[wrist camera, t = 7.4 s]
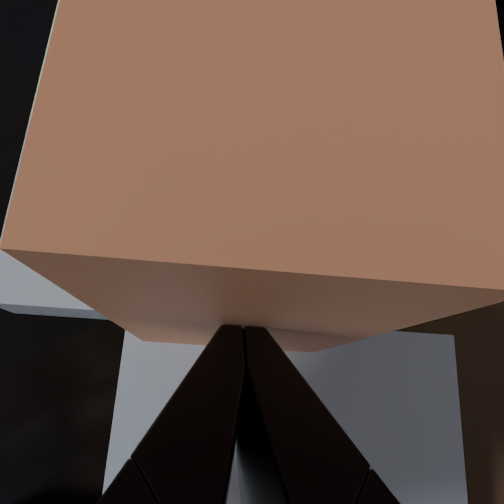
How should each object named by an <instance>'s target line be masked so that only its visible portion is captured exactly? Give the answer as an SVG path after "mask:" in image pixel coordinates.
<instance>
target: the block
mask: <svg viewBox="0 0 504 504" xmlns="http://www.w3.org/2000/svg"><path fill="white" fill-rule="evenodd" d="M0 249H1V250H3V251H4V252H6V253H7V254H9V255H10V256H12V257H13V258H15V259H17V260H18V261H20V262H21V263H23V264H24V265H26V266H27V267H29V268H30V269H32V270H34V271H35V272H37V273H38V274H40V275H41V276H43V277H44V278H46V279H47V280H49V281H51V282H52V283H54V284H55V285H57V286H58V287H60V288H61V289H63V290H65V291H66V292H68V293H69V294H71V295H72V296H74V297H75V298H77V299H78V300H80V301H82V302H83V303H85V304H86V305H88V306H89V307H91V308H92V309H94V310H95V311H97V312H99V313H100V314H102V315H103V316H105V317H106V318H108V319H109V320H111V321H113V322H114V323H116V324H117V325H119V326H120V327H122V328H123V329H125V330H126V331H128V332H130V333H131V334H133V335H134V336H136V337H137V338H139V339H140V340H142V341H148V342H163V343H178V344H193V345H207V344H208V342H209V341H210V340H211V338H212V337H213V335H214V334H215V332H216V331H217V329H218V328H219V327H220V326H221V325H223V324H226V325H239V326H241V327H242V328H244V327H245V326H255V327H264V328H266V329H267V330H268V331H269V333H270V334H271V335H272V337H273V338H274V339H275V341H276V342H277V343H278V344H279V346H280V347H281V348H282V350H284V351H299V352H317V351H321V350H324V349H328V348H332V347H336V346H339V345H343V344H347V343H350V342H354V341H358V340H362V339H365V338H369V337H373V336H377V335H380V334H384V333H388V332H392V331H395V330H399V329H403V328H406V327H410V326H414V325H418V324H421V323H425V322H429V321H433V320H436V319H440V318H444V317H448V316H451V315H455V314H459V313H463V312H466V311H470V310H474V309H477V308H481V307H485V306H489V305H492V304H496V303H500V302H504V59H503V52H502V45H501V38H500V31H499V24H498V17H497V10H496V3H495V0H60V2H59V6H58V10H57V14H56V18H55V23H54V27H53V31H52V35H51V39H50V43H49V47H48V51H47V55H46V59H45V64H44V68H43V72H42V76H41V80H40V84H39V88H38V92H37V96H36V101H35V105H34V109H33V113H32V117H31V121H30V125H29V129H28V133H27V137H26V142H25V146H24V150H23V154H22V158H21V162H20V166H19V170H18V174H17V179H16V183H15V187H14V191H13V195H12V199H11V203H10V207H9V211H8V215H7V220H6V224H5V228H4V232H3V236H2V240H1V244H0Z"/></svg>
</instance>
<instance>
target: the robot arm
mask: <svg viewBox="0 0 504 504" xmlns="http://www.w3.org/2000/svg"><path fill="white" fill-rule="evenodd" d="M235 446H236V455H237V468H238V479H239V490H240V501H241V504H400V502H399V501H398V500H397V499H396V497H395V496H394V495H393V494H392V492H391V491H390V490H389V489H388V487H387V486H386V485H385V483H384V482H383V481H382V479H381V478H380V477H379V475H378V474H377V473H376V472H375V470H374V469H370V464H369V463H368V461H367V460H366V459H365V457H364V456H363V455H362V453H361V452H360V451H359V450H358V448H357V447H356V446H355V444H354V443H353V442H352V440H351V439H350V438H349V436H348V435H347V434H346V432H345V431H344V430H343V428H342V427H341V426H340V425H339V423H338V422H337V421H336V419H335V418H334V417H333V415H332V414H331V413H330V411H329V410H328V409H327V407H326V406H325V405H324V404H323V402H322V401H321V400H320V398H319V397H318V396H317V394H316V393H315V392H314V390H313V389H312V388H311V386H310V385H309V384H308V383H307V381H306V380H305V379H304V377H303V376H302V375H301V373H300V372H299V371H298V369H297V368H296V367H295V365H294V364H293V363H292V362H291V360H290V359H289V358H288V356H287V355H286V354H285V352H284V351H283V350H282V348H281V347H280V346H279V344H278V343H277V342H276V341H275V339H274V338H273V337H272V335H271V334H270V333H269V331H268V330H267V329H266V328H264V327H255V326H245V327H244V328H242V327H241V326H239V325H226V324H223V325H221V326H220V327H219V328H218V329H217V331H216V332H215V334H214V335H213V337H212V338H211V340H210V341H209V342H208V344H207V345H206V347H205V348H204V350H203V351H202V353H201V354H200V356H199V357H198V358H197V360H196V361H195V363H194V364H193V366H192V367H191V369H190V370H189V371H188V373H187V374H186V376H185V377H184V379H183V380H182V382H181V383H180V384H179V386H178V387H177V389H176V390H175V392H174V393H173V395H172V396H171V398H170V399H169V400H168V402H167V403H166V405H165V406H164V408H163V409H162V411H161V412H160V413H159V415H158V416H157V418H156V419H155V421H154V422H153V424H152V425H151V427H150V428H149V429H148V431H147V432H146V434H145V435H144V437H143V438H142V440H141V441H140V442H139V444H138V445H137V447H136V448H135V450H134V451H133V453H132V454H131V459H128V460H127V461H126V462H125V464H124V465H123V467H122V468H121V470H120V471H119V472H118V474H117V475H116V477H115V478H114V480H113V481H112V483H111V484H110V485H109V487H108V488H107V489H106V491H105V492H104V493H103V495H102V496H101V497H100V499H99V500H98V501H97V503H96V504H227V499H228V493H229V486H230V480H231V473H232V467H233V460H234V453H235Z"/></svg>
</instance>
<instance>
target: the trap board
mask: <svg viewBox="0 0 504 504" xmlns="http://www.w3.org/2000/svg"><path fill="white" fill-rule="evenodd" d="M59 2H60V0H58V3H57V7H56V12H55V16H54V20H53V24H52V28H51V32H50V36H49V40H48V45H47V49H46V53H45V57H44V61H43V65H42V69H41V73H40V78H39V82H38V86H37V90H36V94H35V98H34V102H33V106H32V111H31V115H30V119H29V123H28V127H27V131H26V135H25V139H24V144H23V148H22V152H21V156H20V160H19V164H18V168H17V172H16V177H15V181H14V185H13V189H12V193H11V197H10V201H9V205H8V210H7V214H6V218H5V222H4V226H3V230H2V234H1V238H0V244H1V240H2V236H3V232H4V228H5V224H6V220H7V215H8V211H9V207H10V203H11V199H12V195H13V191H14V187H15V183H16V179H17V174H18V170H19V166H20V162H21V158H22V154H23V150H24V146H25V142H26V137H27V133H28V129H29V125H30V121H31V117H32V113H33V109H34V105H35V101H36V96H37V92H38V88H39V84H40V80H41V76H42V72H43V68H44V64H45V59H46V55H47V51H48V47H49V43H50V39H51V35H52V31H53V27H54V23H55V18H56V14H57V10H58V6H59ZM0 308H2V309H5V310H7V311H10V312H13V313H19V314H34V315H49V316H64V317H78V318H93V319H108V318H106V317H105V316H103V315H102V314H100V313H99V312H97V311H95V310H94V309H92V308H91V307H89V306H88V305H86V304H85V303H83V302H82V301H80V300H78V299H77V298H75V297H74V296H72V295H71V294H69V293H68V292H66V291H65V290H63V289H61V288H60V287H58V286H57V285H55V284H54V283H52V282H51V281H49V280H47V279H46V278H44V277H43V276H41V275H40V274H38V273H37V272H35V271H34V270H32V269H30V268H29V267H27V266H26V265H24V264H23V263H21V262H20V261H18V260H17V259H15V258H13V257H12V256H10V255H9V254H7V253H6V252H4V251H3V250H1V249H0ZM108 320H109V319H108ZM205 347H206V345H193V344H178V343H163V342H148V341H142V340H140V339H139V338H137V337H136V336H134V335H133V334H131V333H130V332H128V331H126V330H125V337H124V344H123V351H122V358H121V365H120V372H119V379H118V386H117V393H116V400H115V408H114V415H113V422H112V429H111V436H110V443H109V450H108V457H107V464H106V471H105V478H104V486H103V493H104V492H105V491H106V489H107V488H108V487H109V485H110V484H111V483H112V481H113V480H114V478H115V477H116V475H117V474H118V472H119V471H120V470H121V468H122V467H123V465H124V464H125V462H126V461H127V460H128V459H131V454H132V453H133V451H134V450H135V448H136V447H137V445H138V444H139V442H140V441H141V440H142V438H143V437H144V435H145V434H146V432H147V431H148V429H149V428H150V427H151V425H152V424H153V422H154V421H155V419H156V418H157V416H158V415H159V413H160V412H161V411H162V409H163V408H164V406H165V405H166V403H167V402H168V400H169V399H170V398H171V396H172V395H173V393H174V392H175V390H176V389H177V387H178V386H179V384H180V383H181V382H182V380H183V379H184V377H185V376H186V374H187V373H188V371H189V370H190V369H191V367H192V366H193V364H194V363H195V361H196V360H197V358H198V357H199V356H200V354H201V353H202V351H203V350H204V348H205ZM283 351H284V350H283ZM284 352H285V354H286V355H287V356H288V358H289V359H290V360H291V362H292V363H293V364H294V365H295V367H296V368H297V369H298V371H299V372H300V373H301V375H302V376H303V377H304V379H305V380H306V381H307V383H308V384H309V385H310V386H311V388H312V389H313V390H314V392H315V393H316V394H317V396H318V397H319V398H320V400H321V401H322V402H323V404H324V405H325V406H326V407H327V409H328V410H329V411H330V413H331V414H332V415H333V417H334V418H335V419H336V421H337V422H338V423H339V425H340V426H341V427H342V428H343V430H344V431H345V432H346V434H347V435H348V436H349V438H350V439H351V440H352V442H353V443H354V444H355V446H356V447H357V448H358V450H359V451H360V452H361V453H362V455H363V456H364V457H365V459H366V460H367V461H368V463H369V464H370V469H374V470H375V472H376V473H377V474H378V475H379V477H380V478H381V479H382V481H383V482H384V483H385V485H386V486H387V487H388V489H389V490H390V491H391V492H392V494H393V495H394V496H395V497H396V499H397V500H398V501H399V502H400V504H468V497H467V486H466V474H465V462H464V450H463V438H462V426H461V415H460V403H459V391H458V379H457V367H456V355H455V344H454V335H445V334H430V333H416V332H402V331H392V332H388V333H384V334H380V335H377V336H373V337H369V338H365V339H362V340H358V341H354V342H350V343H347V344H343V345H339V346H336V347H332V348H328V349H324V350H321V351H317V352H299V351H284ZM103 493H102V495H103ZM227 504H241V501H240V490H239V479H238V468H237V455H236V446H235V453H234V460H233V467H232V473H231V480H230V486H229V493H228V499H227Z"/></svg>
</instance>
